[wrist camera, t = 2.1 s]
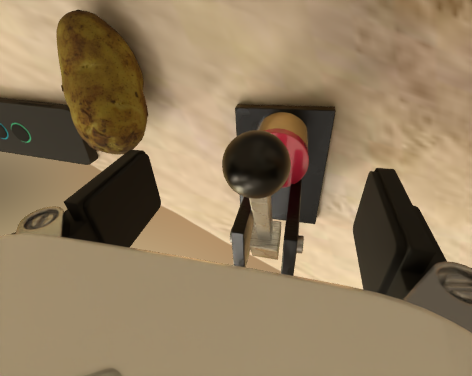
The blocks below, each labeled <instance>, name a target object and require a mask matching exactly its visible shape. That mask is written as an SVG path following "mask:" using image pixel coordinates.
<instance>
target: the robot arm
mask: <svg viewBox="0 0 472 376" xmlns="http://www.w3.org/2000/svg"><path fill="white" fill-rule="evenodd" d="M64 203H65V205H66V207H67V210H66V211H65V212H64V211H63V209H62V208H60V207H56V206H52V207H46V208H42V209H39V210H36V211H35V212H32V213H30V214H29V215H27V216H26V217H24V219H22V220H21V221H20V223H19V225H18V228H17V231H16V232H15V233H12V234H9V235H2V236H0V376H472V268H470V267H467V266H465V265H462V264H458V263H455V262H447V261H446V259H445V257H444V255H443V253H442V251H441V249H440V247H439V246H438V244H437V242H436V240H435V238H434V236H433V234H432V232H431V230H430V229H429V227H428V225H427V223H426V221H425V219H424V217H423V215H422V213H421V212H420V210H419V209H418V207H416V206H413V205H412V203H411V201H410V199H409V197H408V195H407V193H406V191H405V189H404V187H403V185H402V183H401V181H400V179H399V177H398V176H397V174H396V172H395V170H394V169H383V168H376V169H375V171H374V172H372V171H370V172H369V174H368V177H367V181H366V184H365V188H364V191H363V194H362V198H361V201H360V204H359V208H358V211H357V215H356V218H355V221H354V225H353V234H354V240H355V245H356V251H357V256H358V262H359V267H360V273H361V278H362V284H363V289H364V290H362V289H358V288H353V287H349V286H344V285H339V284H334V283H329V282H323V281H318V280H312V279H307V278H302V277H297V276H291V275H285V274H279V273H273V272H268V271H263V270H257V269H251V268H246V267H240V266H234V265H229V264H223V263H217V262H211V261H206V260H199V259H193V258H188V257H182V256H176V255H170V254H164V253H159V252H153V251H147V250H141V249H135V248H129V247H130V246H131V245H132V244H133V242H134V241H135V240H136V238H137V237H138V236H139V234H140V233H141V232H142V230H143V229H144V228H145V226H146V225H147V224H148V222H149V221H150V220H151V218H152V217H153V216H154V214H155V213H156V212H157V211H158V209H159V208H160V205H161V200H160V196H159V192H158V189H157V185H156V181H155V178H154V174H153V170H152V167H151V163H150V159H149V156H148V155H147V154H145V152H144V151H140V150H129V151H128V152H127V153H125V154H124V155H123V156H121V157H120V158H119V159H118V160H116V161H115V162H114V163H113V164H111V165H110V166H109V167H107V168H106V169H105V170H104V171H102V172H101V173H100V174H99V175H97V176H96V177H95V178H93V179H92V180H91V181H90V182H88V183H87V184H86V185H85V186H83V187H82V188H81V189H79V190H78V191H77V192H76V193H74V194H73V195H72V196H70V197H69V198H68V199H67V200H66V201H64Z"/></svg>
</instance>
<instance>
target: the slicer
mask: <svg viewBox="0 0 472 376" xmlns="http://www.w3.org/2000/svg"><path fill="white" fill-rule="evenodd" d="M278 112H286V113H290V114H293V115H295V116H297V117H298V118H300V119H301V120H302V121H303V122H304V124H305V125H306V127H307V130H308V152H309V165H308V169H307V172H306V173H305V175H304V176H303V178H302V179H301V180H300V181H298V182H297V183H295V184H291V186H289V187H285V188H281V189H280V190H278V191H277V192H276V193H274V194H273V195H271V204H272V219H279V220H286V226H285V234H284V244H283V255H282V267H281V274H285V275H291V276H293V274H294V267H295V259H296V253H302V251H303V241H304V237H303V236H299V235H298V232H299V222H303V223H311V224H315V222H316V217H317V211H318V206H319V200H320V194H321V189H322V183H323V178H324V172H325V167H326V161H327V156H328V150H329V144H330V139H331V133H332V128H333V122H334V117H335V107H322V106H284V105H246V104H238V105H237V106H236V108H235V113H236V132H237V136H239V135H240V134H242V133H245V132H248V131H253V130H257V128H258V126H259V124H260V123H261V121H262V120H263V119H264V118H266V117H267V116H269V115H271V114H274V113H278ZM253 223H254V218H253V213H252V209H251V204H250V200H249V198H247V197H244V196H242V195H240V208H239V211H238V214H237V216H236V219H235V222H234V225H233V227H232V229H231V233H230V242H231V243H232V250H233V261H234V266H240V267H246V264H247V260H248V256H249V252H250V240H251V235H252V229H253Z"/></svg>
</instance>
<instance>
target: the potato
mask: <svg viewBox="0 0 472 376" xmlns="http://www.w3.org/2000/svg"><path fill="white" fill-rule="evenodd" d="M57 48H58V57H59V63H60V69H61V75H62V85H61V87H62V91H64V96H65V100H66V102H67V105H68V107H69V108H70V113H71V117H72V120H73V123H74V125H75V127H76V129H77V131H78V133H79V134H80V137H81V139H83V140H85V141H86V142H87V143H88V145H89V146H90V147H91V148H93V149H95V150H99V151H102V152H106V153H111V154H125V153H127V152H128V151H129V150H133V149H134V148H135V147H136V146H137V145H138V143H139V142H140V141H141V140H142V138H143V136H144V132H145V128H146V123H147V116H148V111H147V105H146V101H145V97H144V94H143V76H142V73H141V70H140V67H139V65H138V63H137V60H136V58H135V56H134V54H133V53H132V51H131V49H130V48H129V46H128V45H127V43H126V42H125V41H124V39H123V38H122V37H121V36H120V35H119V34H118V33H117V32H116V31H115V30H114V29H113V28H112V27H111V26H109V25H108V24H107V23H106V22H105V21H104V20H102V19H101V18H100V17H98V16H97V15H95V14H93V13H90V12H87V11H81V10H76V11H72V12H69V13H67V14H66V15H64V16H63V17H62V18H61V19H60V21H59V23H58V27H57Z"/></svg>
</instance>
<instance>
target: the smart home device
mask: <svg viewBox="0 0 472 376" xmlns="http://www.w3.org/2000/svg"><path fill="white" fill-rule="evenodd" d="M0 151H2V152H8V153H15V154H21V155H27V156H33V157H40V158H46V159H53V160H59V161H65V162H72V163H78V164H85V165H88V164H91V163H92V162H94V161H95V160H96V159H98V156H97V153H96V151H95V149H93V148H91V147H90V146H89V145H88V143H87V142H86V141H85V140H83V139H81V137H80V134H79V133H78V131H77V129H76V127H75V125H74V123H73V120H72V117H71V113H70V108H69V107H68V105H63V104H53V103H44V102H35V101H25V100H16V99H7V98H0Z"/></svg>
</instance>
